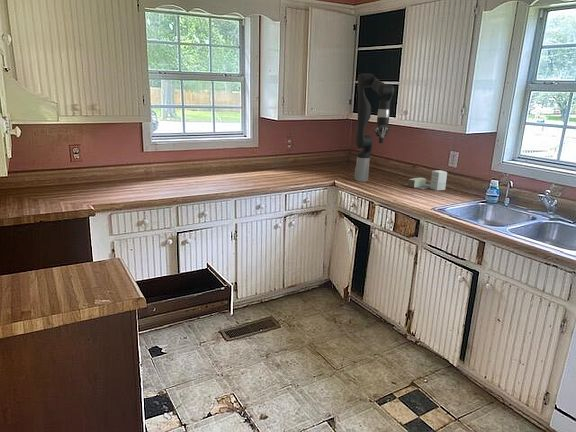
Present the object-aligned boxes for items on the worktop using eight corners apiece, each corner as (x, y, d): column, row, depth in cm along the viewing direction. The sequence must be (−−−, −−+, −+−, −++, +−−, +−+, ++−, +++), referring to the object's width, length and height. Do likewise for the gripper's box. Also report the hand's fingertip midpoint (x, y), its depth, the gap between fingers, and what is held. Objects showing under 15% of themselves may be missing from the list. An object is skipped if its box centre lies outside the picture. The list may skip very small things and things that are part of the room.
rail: (417, 182, 328) (418, 179, 327) (419, 182, 329) (419, 179, 328) (436, 186, 316) (437, 183, 316) (437, 186, 317) (438, 183, 316)
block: (408, 179, 311) (419, 177, 319) (407, 186, 313) (419, 184, 320) (414, 180, 307) (425, 178, 315) (413, 187, 309) (425, 185, 317)
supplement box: (438, 187, 313) (440, 170, 310) (445, 190, 307) (447, 172, 303) (429, 188, 311) (431, 170, 307) (436, 190, 304) (439, 172, 300)
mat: (403, 185, 318) (403, 184, 318) (417, 182, 328) (417, 182, 328) (422, 189, 306) (422, 188, 306) (436, 186, 316) (436, 186, 316)
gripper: (385, 115, 295) (383, 142, 300) (372, 116, 287) (369, 143, 292) (394, 116, 290) (391, 143, 295) (381, 117, 282) (378, 144, 287)
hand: (380, 143), depth 293 cm, fingers closed
